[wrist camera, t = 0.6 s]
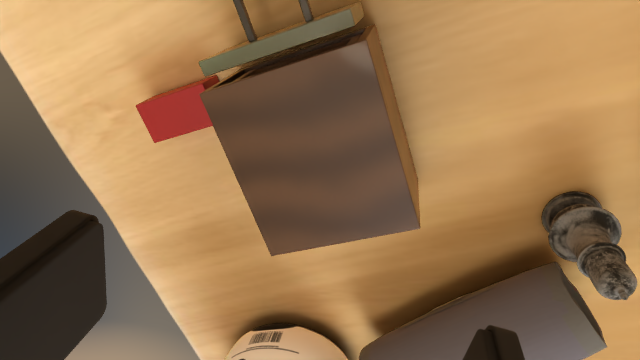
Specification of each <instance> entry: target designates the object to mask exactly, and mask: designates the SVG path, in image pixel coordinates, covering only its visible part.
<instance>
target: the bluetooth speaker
mask: <svg viewBox="0 0 640 360" xmlns="http://www.w3.org/2000/svg"><path fill="white" fill-rule="evenodd" d="M488 325H493V326H496V327H500V328H504V329H507V330H511V331H514V332H515V333H516V334H517V336H518V338H519V342H520V345H521V348H522V351H523V354H524V358H525V360H582V359H585V358H587V357H589V356H591V355H593V354H594V353H596V352H598V351H601V350H602V349H604V348H606V347H607V345H606V343H605V341H604V338H603V335H602V331H601V329H600V327H599V325H598V323H597V321H596V320H595V318H594V316H593V315H592V313H591V311H590V310H589V308H588V306H587V305H586V303H585V301H584V300H583V298H582V297H581V295H580V294H579V292H578V291H577V289H576V288H575V287H574V286H573V284H572V283H571V282H570V281H569V280H568V279H567V277H566V276H565V275H564V273H563V271H562V269H561V267H560V265H559V264H558V263H557V262H554V263H550V264H546V265H543V266H540V267H537V268H534V269H531V270H528V271H526V272H523V273H521V274H518V275H516V276H513V277H511V278H508V279H506V280H503V281H500V282H497V283H495V284H492V285H490V286H488V287H485V288H483V289H480V290H478V291H476V292H473V293H469V294H466V295H463V296H461V297H459V298H456V299H454V300H452V301H449V302H447V303H445V304H443V305H441V306H439V307H437V308H435V309H433V310H431V311H429V312H428V313H427V314H424V315H422V316H420V317H418V318H416V319H414V320H412V321H410V322H408V323H406V324H404V325H402V326H401V327H399V328H397V329H395V330H393V331H391V332H389V333H387V334H385V335H383V336H381V337H380V338H378V339H376V340H375V341H373V342H371V343H370V344H368V345H367V346H365V347H364V348H363V349H362V350H361V352H360V356H359V360H463V358H464V356H465V354H466V352H467V350H468V348H469V346H470V344H471V342H472V340H473V338H474V336H475V334H476V332H477V330H478V329H483V330H485V329H486V327H487V326H488Z"/></svg>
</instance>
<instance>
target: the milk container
mask: <svg viewBox="0 0 640 360" xmlns="http://www.w3.org/2000/svg"><path fill="white" fill-rule="evenodd" d="M225 360H348V358H347V357H346V356H345V354H344V353H343V351H342V350H341V349H340V348H339V347H338V346H337V345H336V344H335V343H333V342H332V341H331V340H329V339H328V338H327V337H325V336H324V335H322V334H320V333H318V332H316V331H313V330H311V329H308V328H305V327H302V326H298V325H292V324H282V323H277V324H269V325H264V326H260V327H257V328H255V329H253V330H251V331H250V332H248V333H246V334H245V335H243V336H242V337H241V338H240V339H239V340H238V341H237V342H236V343H235V345H234V346H233V347H232V349H231V350H230V351H229V353H228V355H227V356H226V358H225Z"/></svg>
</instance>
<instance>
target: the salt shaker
mask: <svg viewBox="0 0 640 360" xmlns="http://www.w3.org/2000/svg"><path fill="white" fill-rule="evenodd" d="M542 224H543V226H544V227H545V229H546V230H547V231H548V232H549V236H548V238H549V244H550V246H551V248H552V250H553V251H554V252H555V253H556V254H557V255H558V256H559V257H561V258H563V259H565V260H568V261H572V262H577V266H578V269H579V271H580V272H581V273H582V274H583V275H585V276H587V277H589V278H590V280H591V281H592V283H593V285H594V286H595V288H596V290H597V291H598V292H599V293H600V294H601V295H602V296H604V297H605V298H609V299H613V300H620V299H624V300H627V299H628V297H629V296H630V295H631V294H633V292H634V291H635V289H636V286H637V280H636V277H635V275H634V273H633V272H632V271H631V269H630V268H629V267H628V265H627V264H626V255H625V253H624V251H623V250H622V249H621V248H620V247H619V246H617V244H618V242H619V240H620V237H621V225H620V223H619V221H618V219H617V218H616V217H615V216H614V215H613V214H612V213H610V212H609V211H607V210H605V209H602V208H601V205H600V203H599V202H598V201H597V200H596V199H595V198H594V197H593V196H591V195H589V194H587V193H583V192H568V193H564V194H561V195H558V196H556V197H555V198H553V199H552V200H551V201H550V202H549V203H548V204H547V205H546V206H545V208H544V210H543V213H542Z"/></svg>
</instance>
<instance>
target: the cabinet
mask: <svg viewBox="0 0 640 360" xmlns="http://www.w3.org/2000/svg"><path fill="white" fill-rule="evenodd" d="M359 34H361V36H360V38H359V39H358V41H356V42H353V43H350V44H347V45H343V46H340V47H337V48H334V49H331V50H328V51H325V52H322V53H319V54H316V55H313V56H310V57H307V58H304V59H301V60H298V61H295V62H292V63H289V64H286V65H283V66H279V67H276V68H273V69H270V70H267V71H264V72H261V73H258V74H255V75H252V76H249V77H246V78H243V79H240V80H237V81H234V80H236V79H238V78H239V77H241V76H242V75H244V74H245V73H247V72H248V71H251V70H254V69H257V68H260V67H263V66H266V65H269V64H272V63H275V62H278V61H281V60H284V59H287V58H290V57H293V56H296V55H299V54H302V53H305V52H308V51H311V50H314V49H317V48H320V47H323V46H326V45H329V44H332V43H335V42H338V41H341V40H344V39H347V38H350V37H353V36H356V35H359ZM233 81H234V82H233ZM199 95H200V97H201V100H202V102H203V104H204V106H205V109H206V111H207V113H208V115H209V118H210V120H211V122H212V124H213V127H214V129H215V131H216V133H217V136H218V138H219V140H220V142H221V144H222V147H223V149H224V151H225V153H226V156H227V158H228V160H229V162H230V165H231V167H232V169H233V171H234V174H235V176H236V178H237V180H238V183H239V185H240V187H241V189H242V191H243V194H244V196H245V198H246V200H247V203H248V205H249V207H250V209H251V212H252V214H253V216H254V218H255V221H256V223H257V225H258V227H259V230H260V232H261V234H262V236H263V238H264V241H265V243H266V245H267V247H268V250H269V252H270V254H271V256H274V255H280V254H285V253H291V252H296V251H302V250H307V249H312V248H318V247H323V246H329V245H334V244H339V243H345V242H350V241H356V240H361V239H366V238H372V237H377V236H383V235H388V234H394V233H399V232H404V231H410V230H415V229H420V211H419V190H418V178H417V175H416V171H415V167H414V164H413V160H412V156H411V153H410V149H409V145H408V142H407V138H406V134H405V131H404V127H403V123H402V120H401V116H400V112H399V109H398V105H397V101H396V98H395V94H394V90H393V87H392V83H391V79H390V76H389V72H388V68H387V65H386V61H385V57H384V54H383V50H382V46H381V43H380V39H379V35H378V32H377V28H376V25H375V24H374V25H371V26H368V27H365V28H362V29H359V30H356V31H353V32H350V33H347V34H344V35H341V36H338V37H335V38H332V39H329V40H326V41H323V42H320V43H317V44H314V45H311V46H308V47H305V48H302V49H300V50H297V51H294V52H291V53H288V54H285V55H282V56H279V57H276V58H273V59H270V60H267V61H264V62H261V63H258V64H255V65H252V66H249V67H246V68H243V69H240V70H238V71H236V72H235V73H233V74H231V75H230V76H228V77H226V78H225V79H223V80H222V81H220V82H218V83H217V84H215V85H213V86H212V87H210V88H208V89H207V90H205V91H203V92H202V93H200V94H199Z"/></svg>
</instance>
